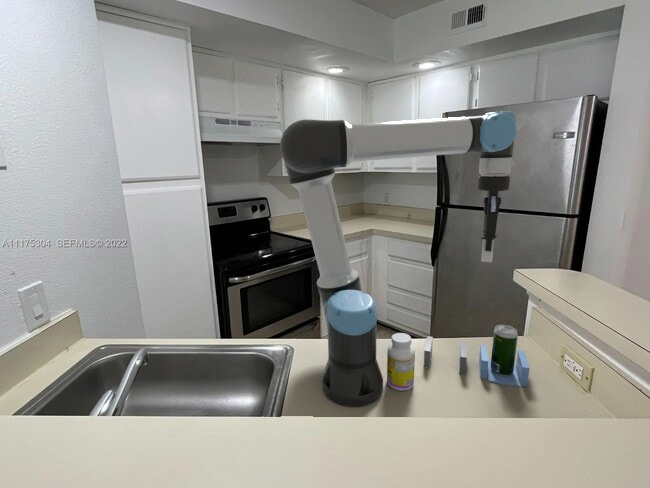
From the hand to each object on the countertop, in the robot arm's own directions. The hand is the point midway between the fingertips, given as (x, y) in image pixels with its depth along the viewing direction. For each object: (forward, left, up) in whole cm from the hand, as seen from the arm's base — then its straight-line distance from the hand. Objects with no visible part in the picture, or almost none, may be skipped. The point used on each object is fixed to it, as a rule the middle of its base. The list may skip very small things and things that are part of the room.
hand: (486, 261), depth 96 cm
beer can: (+5, -12, -26) cm, 29 cm away
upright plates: (-2, -12, -26) cm, 29 cm away
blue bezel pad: (+5, -12, -26) cm, 29 cm away
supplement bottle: (-19, -25, -27) cm, 41 cm away
